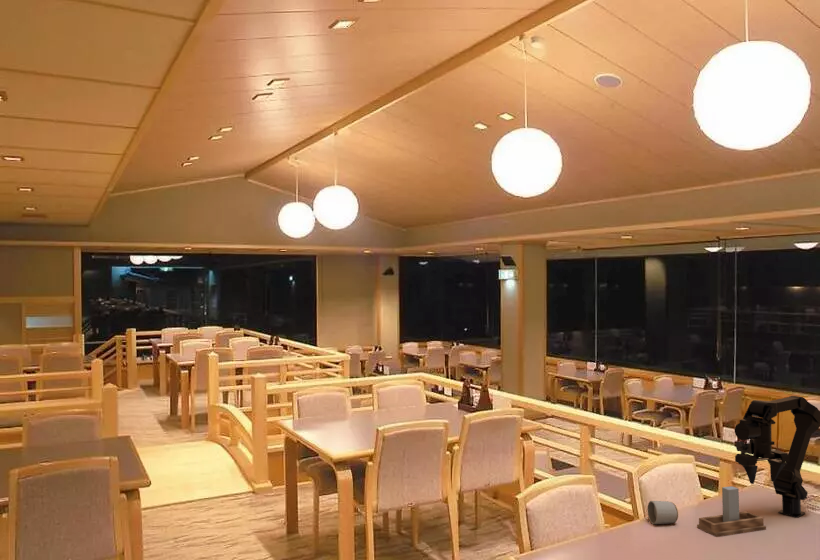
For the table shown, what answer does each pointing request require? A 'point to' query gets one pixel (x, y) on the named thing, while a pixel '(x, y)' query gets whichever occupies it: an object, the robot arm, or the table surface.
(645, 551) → the table surface
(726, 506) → the tall grey pillar block
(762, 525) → the open rectangular wooden box
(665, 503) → the ceramic mug
